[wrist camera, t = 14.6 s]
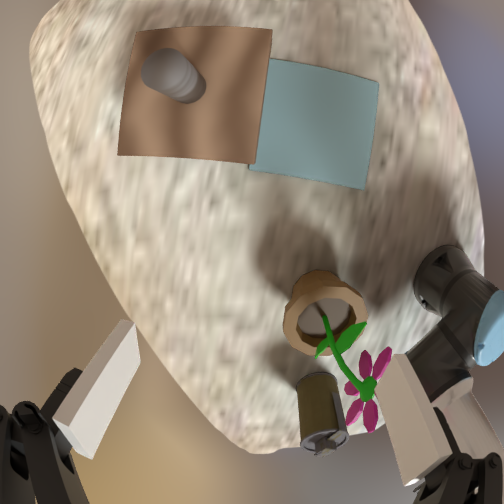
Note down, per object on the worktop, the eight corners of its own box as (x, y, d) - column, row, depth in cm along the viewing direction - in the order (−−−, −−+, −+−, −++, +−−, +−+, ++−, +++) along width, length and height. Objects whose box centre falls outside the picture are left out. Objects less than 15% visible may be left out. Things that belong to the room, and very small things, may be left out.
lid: (271, 43, 27) (274, -6, 15) (255, 162, 33) (249, 170, 21) (150, 42, 27) (103, 7, 15) (134, 153, 33) (75, 161, 21)
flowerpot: (333, 330, 55) (366, 453, 27) (270, 313, 54) (268, 446, 26) (364, 272, 50) (436, 386, 22) (297, 249, 49) (328, 372, 21)
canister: (320, 402, 64) (328, 464, 45) (287, 391, 62) (290, 458, 44) (346, 378, 60) (363, 443, 41) (313, 365, 59) (324, 436, 40)
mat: (378, 83, 37) (379, 83, 37) (363, 189, 44) (364, 190, 44) (264, 59, 37) (264, 58, 37) (249, 169, 45) (249, 170, 44)
